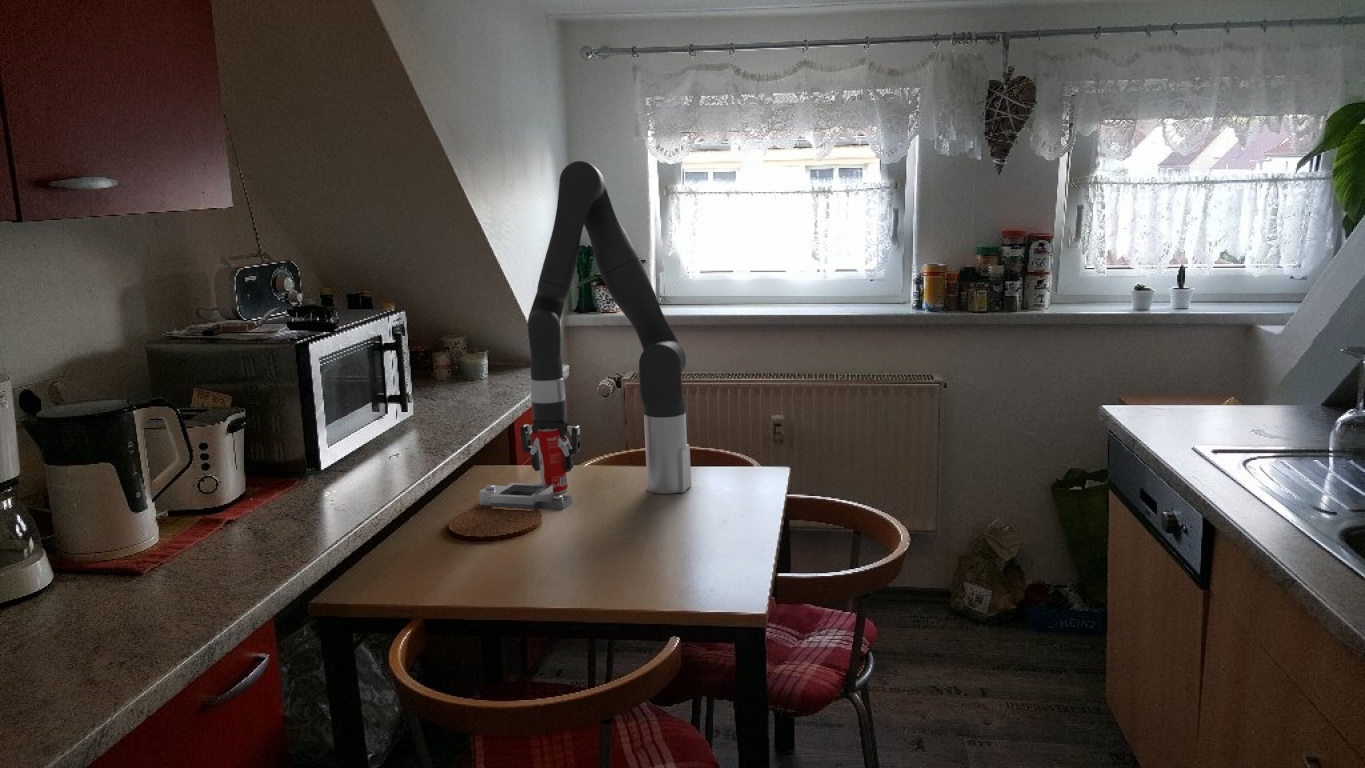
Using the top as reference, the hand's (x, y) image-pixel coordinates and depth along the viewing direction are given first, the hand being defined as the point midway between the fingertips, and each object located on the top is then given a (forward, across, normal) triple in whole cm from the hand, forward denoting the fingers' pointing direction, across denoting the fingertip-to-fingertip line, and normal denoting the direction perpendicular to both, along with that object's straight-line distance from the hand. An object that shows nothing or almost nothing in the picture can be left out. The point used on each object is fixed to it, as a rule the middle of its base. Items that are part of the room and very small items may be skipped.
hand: (552, 470), depth 219 cm
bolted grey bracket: (+5, +3, +10) cm, 11 cm away
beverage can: (+5, 0, 0) cm, 5 cm away
